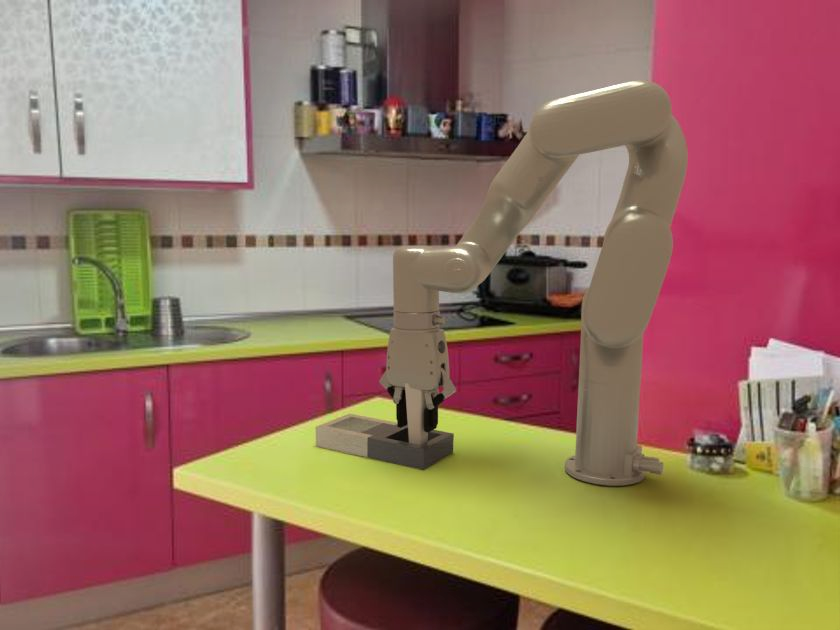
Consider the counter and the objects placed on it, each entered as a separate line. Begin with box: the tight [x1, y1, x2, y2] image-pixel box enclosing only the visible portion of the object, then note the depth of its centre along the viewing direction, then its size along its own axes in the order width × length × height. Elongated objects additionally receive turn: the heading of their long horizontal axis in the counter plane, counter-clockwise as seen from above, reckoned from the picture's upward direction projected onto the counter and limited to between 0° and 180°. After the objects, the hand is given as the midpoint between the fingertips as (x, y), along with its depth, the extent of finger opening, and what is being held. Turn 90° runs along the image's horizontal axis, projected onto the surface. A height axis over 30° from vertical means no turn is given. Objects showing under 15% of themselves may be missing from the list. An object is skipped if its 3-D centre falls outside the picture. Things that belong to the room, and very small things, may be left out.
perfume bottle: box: [405, 383, 428, 445], centre depth 130 cm, size 5×4×15 cm
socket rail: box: [315, 413, 455, 471], centre depth 134 cm, size 22×10×4 cm, turn 59°
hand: (417, 426), depth 130 cm, fingers closed on perfume bottle, 4 cm apart
